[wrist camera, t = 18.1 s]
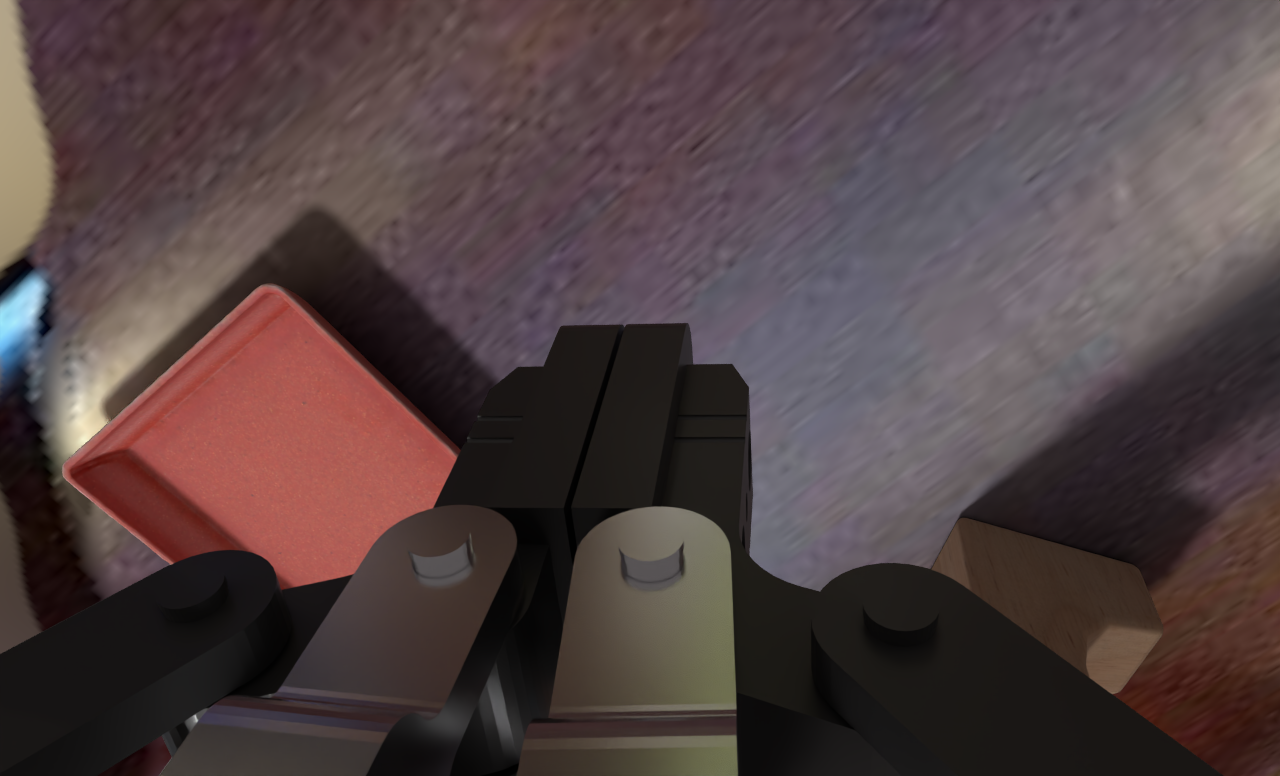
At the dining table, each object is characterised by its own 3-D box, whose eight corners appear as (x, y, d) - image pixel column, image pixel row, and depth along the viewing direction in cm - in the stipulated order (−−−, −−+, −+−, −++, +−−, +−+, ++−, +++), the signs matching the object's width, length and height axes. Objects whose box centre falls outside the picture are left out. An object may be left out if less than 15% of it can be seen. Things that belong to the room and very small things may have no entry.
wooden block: (1140, 562, 48) (1295, 929, 33) (1095, 628, 51) (1221, 998, 36) (958, 511, 48) (1030, 856, 33) (921, 579, 51) (973, 930, 36)
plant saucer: (343, 648, 60) (320, 692, 57) (89, 437, 54) (50, 474, 51) (568, 507, 52) (554, 550, 49) (301, 244, 46) (268, 275, 43)
